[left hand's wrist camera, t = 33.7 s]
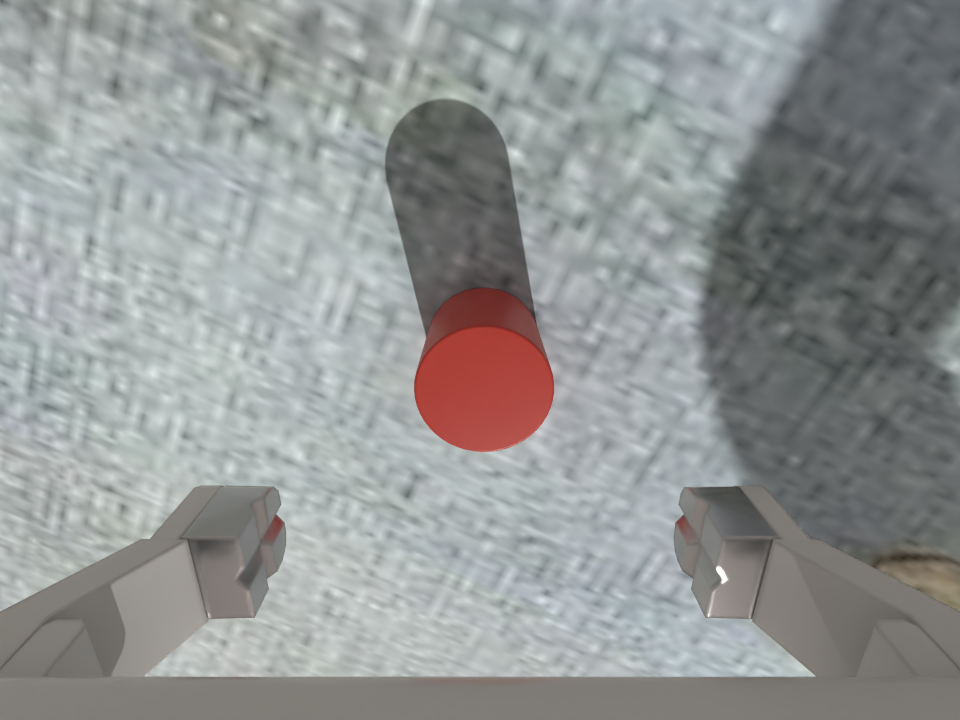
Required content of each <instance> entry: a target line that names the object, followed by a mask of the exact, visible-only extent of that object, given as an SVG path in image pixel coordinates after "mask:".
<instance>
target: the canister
mask: <svg viewBox="0 0 960 720" xmlns="http://www.w3.org/2000/svg"><path fill="white" fill-rule="evenodd" d="M414 393H415V400H416V404H417V407H418V410H419V412H420V414H421V416H422V418H423V420H424V421H425V422H426V424H427V425H428V426H429V428H430V429H431V430H432V431H433V432H434V433H435V434H436V435H438V436H439V437H440V438H442V439H443V440H445V441H446V442H448V443H450V444H452V445H454V446H456V447H459V448H462V449H466V450H471V451H480V452H488V451H497V450H502V449H506V448H509V447H511V446H514V445H516V444H518V443H520V442H522V441H524V440H525V439H526V438H528V437H529V436H530V435H532V434H533V433H534V432H535V431H536V430H537V429H538V428H539V426H540V425H541V424H542V423H543V421H544V420H545V418H546V416H547V414H548V412H549V410H550V408H551V404H552V401H553V395H554V380H553V374H552V371H551V367H550V364H549V361H548V358H547V355H546V352H545V349H544V346H543V343H542V340H541V337H540V334H539V331H538V328H537V325H536V322H535V320H534V318H533V316H532V314H531V313H530V311H529V310H528V309H527V307H526V306H525V305H524V304H523V303H522V302H521V301H520V300H518V299H517V298H515V297H514V296H512V295H510V294H508V293H506V292H504V291H501V290H497V289H493V288H475V289H469V290H466V291H463V292H461V293H459V294H456V295H455V296H453V297H451V298H450V299H449V300H447V301H446V302H445V303H444V304H443V305H442V306H441V307H440V308H439V310H438V311H437V312H436V314H435V316H434V318H433V320H432V322H431V325H430V328H429V331H428V335H427V338H426V341H425V345H424V348H423V351H422V355H421V358H420V362H419V365H418V368H417V372H416V376H415V383H414Z"/></svg>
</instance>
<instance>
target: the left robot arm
mask: <svg viewBox="0 0 960 720" xmlns="http://www.w3.org/2000/svg"><path fill="white" fill-rule="evenodd" d="M280 506H281V500H280V496H279V491H278V490H277V489H276V488H275V487H269V486H198V487H195V488H194V489H193V490H192V491H191V492H190V493H189V495H188V496H187V497H186V498H185V499H184V500H183V501H182V503H181V504H180V505H179V506H178V507H177V508H176V509H175V511H174V512H173V513H172V514H171V515H170V516H169V518H168V519H167V520H166V521H165V522H164V523H163V524H162V526H161V527H160V528H159V529H158V530H157V531H156V532H155V534H154V535H153V536H152V537H151V538H150V539H141V540H139V541H137V542H135V543H133V544H131V545H129V546H127V547H125V548H123V549H121V550H119V551H117V552H116V553H114V554H112V555H110V556H108V557H106V558H104V559H102V560H100V561H98V562H96V563H94V564H92V565H90V566H88V567H86V568H84V569H82V570H80V571H79V572H77V573H75V574H73V575H71V576H69V577H67V578H65V579H63V580H61V581H59V582H57V583H55V584H53V585H51V586H49V587H47V588H45V589H43V590H42V591H40V592H38V593H36V594H34V595H32V596H30V597H28V598H26V599H24V600H22V601H20V602H18V603H16V604H14V605H12V606H10V607H8V608H6V609H4V610H3V611H1V612H0V720H960V612H959V611H957V610H955V609H953V608H951V607H949V606H947V605H945V604H943V603H942V602H940V601H938V600H936V599H934V598H932V597H930V596H928V595H926V594H924V593H922V592H920V591H918V590H916V589H914V588H912V587H910V586H908V585H907V584H905V583H903V582H901V581H899V580H897V579H895V578H893V577H891V576H889V575H887V574H885V573H883V572H881V571H879V570H877V569H875V568H874V567H872V566H870V565H868V564H866V563H864V562H862V561H860V560H858V559H856V558H854V557H852V556H850V555H848V554H846V553H844V552H842V551H840V550H839V549H837V548H835V547H833V546H831V545H829V544H827V543H825V542H823V541H821V540H819V539H810V538H809V537H808V536H807V535H806V534H805V532H804V531H803V530H802V529H801V528H800V527H799V526H798V524H797V523H796V522H795V521H794V520H793V519H792V518H791V516H790V515H789V514H788V513H787V512H786V511H785V510H784V508H783V507H782V506H781V505H780V504H779V503H778V501H777V500H776V499H775V498H774V497H773V496H772V495H771V493H770V492H769V491H768V490H767V489H766V488H765V487H762V486H760V485H749V486H734V487H684V488H683V490H682V492H681V495H680V500H679V506H680V508H681V509H682V511H683V513H684V515H683V516H682V517H681V518H680V519H679V520H678V521H677V522H676V523H675V531H674V546H675V553H676V556H677V560H678V562H679V565H680V567H681V569H682V571H683V572H684V573H686V574H687V575H689V576H690V577H691V578H693V583H692V588H691V590H692V592H693V594H694V596H695V598H696V600H697V602H698V604H699V606H700V608H701V610H702V612H703V614H704V616H705V618H738V619H752V622H753V623H755V624H756V625H757V626H758V627H759V628H760V629H762V630H763V631H764V632H765V633H766V634H767V635H769V636H770V637H771V638H772V639H773V640H775V641H776V642H777V643H778V644H779V645H780V646H782V647H783V648H784V649H785V650H786V651H787V652H789V653H790V654H791V655H792V656H793V657H794V658H796V659H797V660H798V661H799V662H800V663H801V664H803V665H804V666H805V667H806V668H807V669H808V670H810V671H811V672H812V673H813V674H814V675H815V676H817V677H143V676H145V675H146V674H147V673H148V672H149V671H151V670H152V669H153V668H154V667H155V666H156V665H158V664H159V663H160V662H161V661H162V660H163V659H165V658H166V657H167V656H168V655H169V654H170V653H172V652H173V651H174V650H175V649H176V648H177V647H179V646H180V645H181V644H182V643H183V642H185V641H186V640H187V639H188V638H189V637H190V636H192V635H193V634H194V633H195V632H196V631H197V630H199V629H200V628H201V627H202V626H203V625H204V624H206V623H207V622H208V619H222V618H255V616H256V614H257V612H258V610H259V608H260V606H261V604H262V602H263V600H264V598H265V596H266V594H267V592H268V590H269V588H268V583H267V578H269V577H270V576H271V575H273V574H274V573H276V572H277V571H278V569H279V567H280V565H281V562H282V560H283V556H284V552H285V547H286V529H285V523H284V522H283V521H282V520H281V519H280V518H279V517H278V516H277V515H276V513H277V511H278V509H279V508H280Z"/></svg>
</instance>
